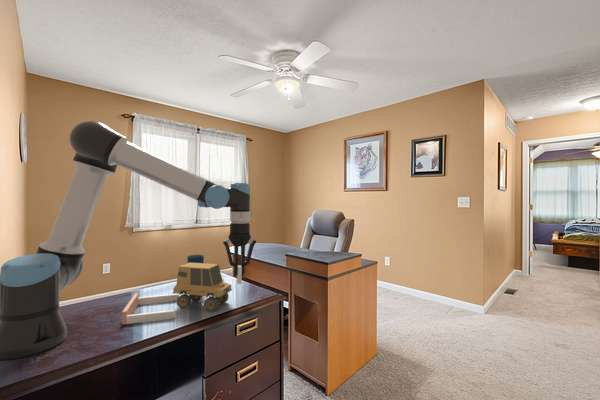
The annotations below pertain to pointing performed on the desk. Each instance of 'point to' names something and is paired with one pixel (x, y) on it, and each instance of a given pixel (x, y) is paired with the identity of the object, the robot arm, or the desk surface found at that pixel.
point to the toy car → (201, 285)
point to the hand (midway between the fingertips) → (239, 282)
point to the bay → (145, 317)
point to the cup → (195, 258)
